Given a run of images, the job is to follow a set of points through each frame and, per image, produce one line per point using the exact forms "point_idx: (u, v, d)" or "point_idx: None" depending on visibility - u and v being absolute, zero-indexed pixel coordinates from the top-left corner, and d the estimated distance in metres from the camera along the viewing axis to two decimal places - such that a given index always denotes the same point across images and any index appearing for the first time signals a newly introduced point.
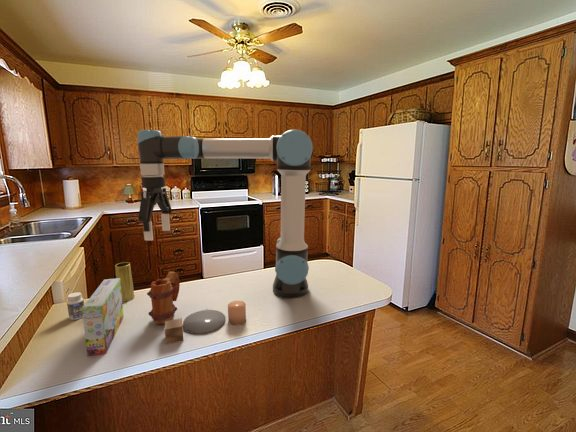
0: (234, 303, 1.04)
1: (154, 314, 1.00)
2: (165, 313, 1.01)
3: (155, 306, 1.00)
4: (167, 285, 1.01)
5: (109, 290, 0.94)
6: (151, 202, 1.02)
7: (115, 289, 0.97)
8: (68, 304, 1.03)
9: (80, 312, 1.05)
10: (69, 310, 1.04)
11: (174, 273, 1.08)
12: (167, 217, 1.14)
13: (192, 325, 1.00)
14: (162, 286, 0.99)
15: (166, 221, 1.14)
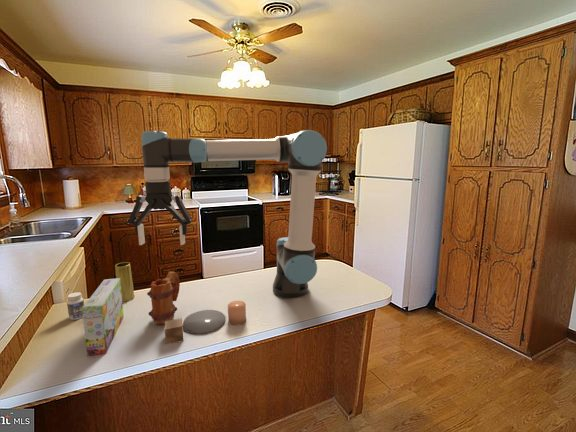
0: (234, 303, 1.04)
1: (154, 314, 1.00)
2: (165, 313, 1.01)
3: (155, 306, 1.00)
4: (167, 285, 1.01)
5: (109, 290, 0.94)
6: None
7: (115, 289, 0.97)
8: (68, 304, 1.03)
9: (80, 312, 1.05)
10: (69, 310, 1.04)
11: (174, 273, 1.08)
12: (180, 229, 0.99)
13: (192, 325, 1.00)
14: (162, 286, 0.99)
15: None
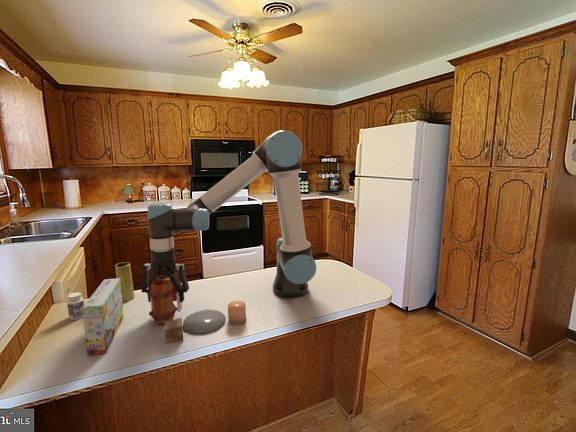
0: (234, 303, 1.04)
1: (154, 314, 1.00)
2: (165, 313, 1.01)
3: (155, 306, 1.00)
4: (167, 285, 1.01)
5: (109, 290, 0.94)
6: None
7: (115, 289, 0.97)
8: (68, 304, 1.03)
9: (80, 312, 1.05)
10: (69, 310, 1.04)
11: None
12: (177, 297, 1.05)
13: (192, 325, 1.00)
14: (162, 286, 0.99)
15: None
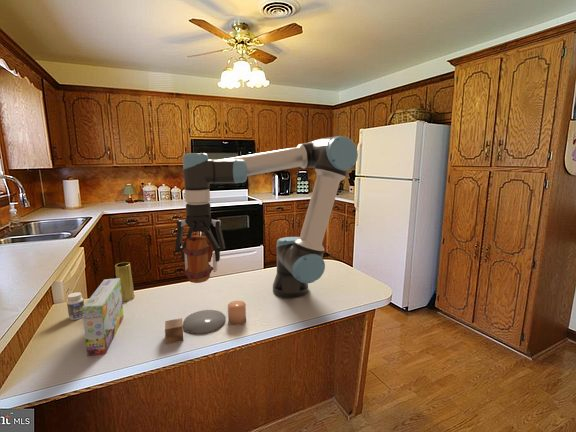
0: (234, 303, 1.04)
1: (190, 272, 0.93)
2: (202, 271, 0.94)
3: (191, 263, 0.93)
4: (204, 241, 0.94)
5: (109, 290, 0.94)
6: None
7: (115, 289, 0.97)
8: (68, 304, 1.03)
9: (80, 312, 1.05)
10: (69, 310, 1.04)
11: None
12: (213, 256, 0.98)
13: (192, 325, 1.00)
14: (199, 241, 0.92)
15: None
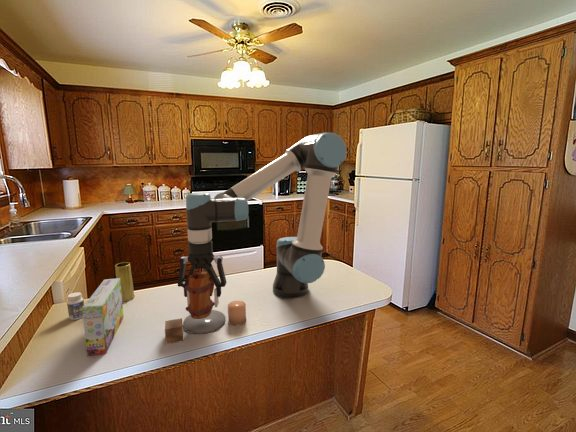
0: (234, 303, 1.04)
1: (192, 309, 0.96)
2: (204, 308, 0.96)
3: (194, 301, 0.95)
4: (206, 279, 0.96)
5: (109, 290, 0.94)
6: (191, 268, 0.99)
7: (115, 289, 0.97)
8: (68, 304, 1.03)
9: (80, 312, 1.05)
10: (69, 310, 1.04)
11: None
12: None
13: (192, 325, 1.00)
14: (201, 280, 0.95)
15: None
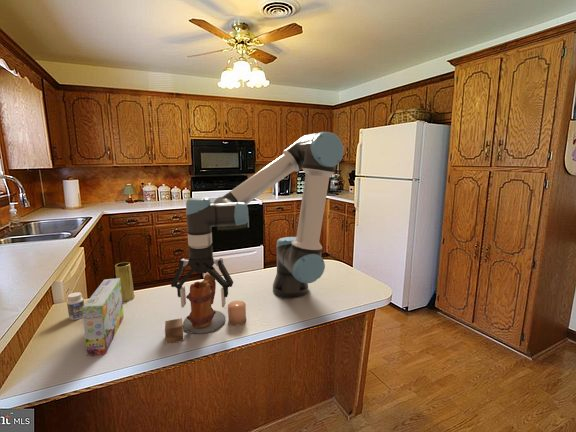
0: (234, 303, 1.04)
1: (194, 318, 0.96)
2: (205, 317, 0.97)
3: (195, 310, 0.96)
4: (207, 288, 0.97)
5: (109, 290, 0.94)
6: (189, 271, 0.99)
7: (115, 289, 0.97)
8: (68, 304, 1.03)
9: (80, 312, 1.05)
10: (69, 310, 1.04)
11: (211, 275, 1.04)
12: None
13: None
14: (203, 289, 0.95)
15: None
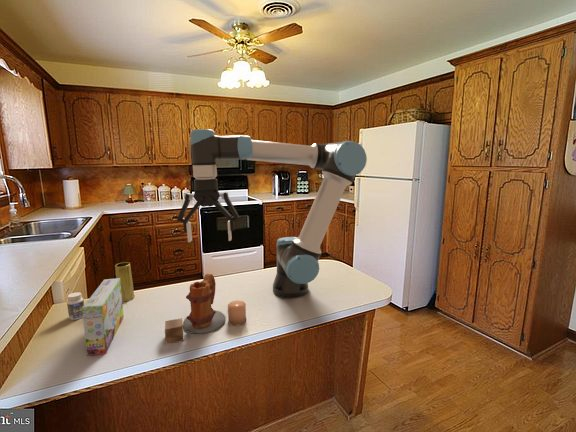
0: (234, 303, 1.04)
1: (194, 318, 0.96)
2: (205, 317, 0.97)
3: (195, 310, 0.96)
4: (207, 288, 0.97)
5: (109, 290, 0.94)
6: (195, 205, 1.00)
7: (115, 289, 0.97)
8: (68, 304, 1.03)
9: (80, 312, 1.05)
10: (69, 310, 1.04)
11: (211, 275, 1.04)
12: None
13: None
14: (202, 289, 0.95)
15: (228, 229, 1.02)
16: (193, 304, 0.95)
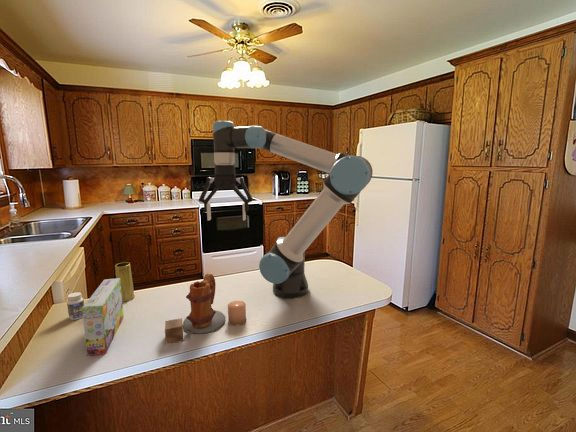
0: (234, 303, 1.04)
1: (194, 318, 0.96)
2: (205, 317, 0.97)
3: (195, 310, 0.96)
4: (207, 288, 0.97)
5: (109, 290, 0.94)
6: None
7: (115, 289, 0.97)
8: (68, 304, 1.03)
9: (80, 312, 1.05)
10: (69, 310, 1.04)
11: (211, 275, 1.04)
12: None
13: None
14: (202, 289, 0.95)
15: (243, 210, 1.16)
16: (193, 304, 0.96)
